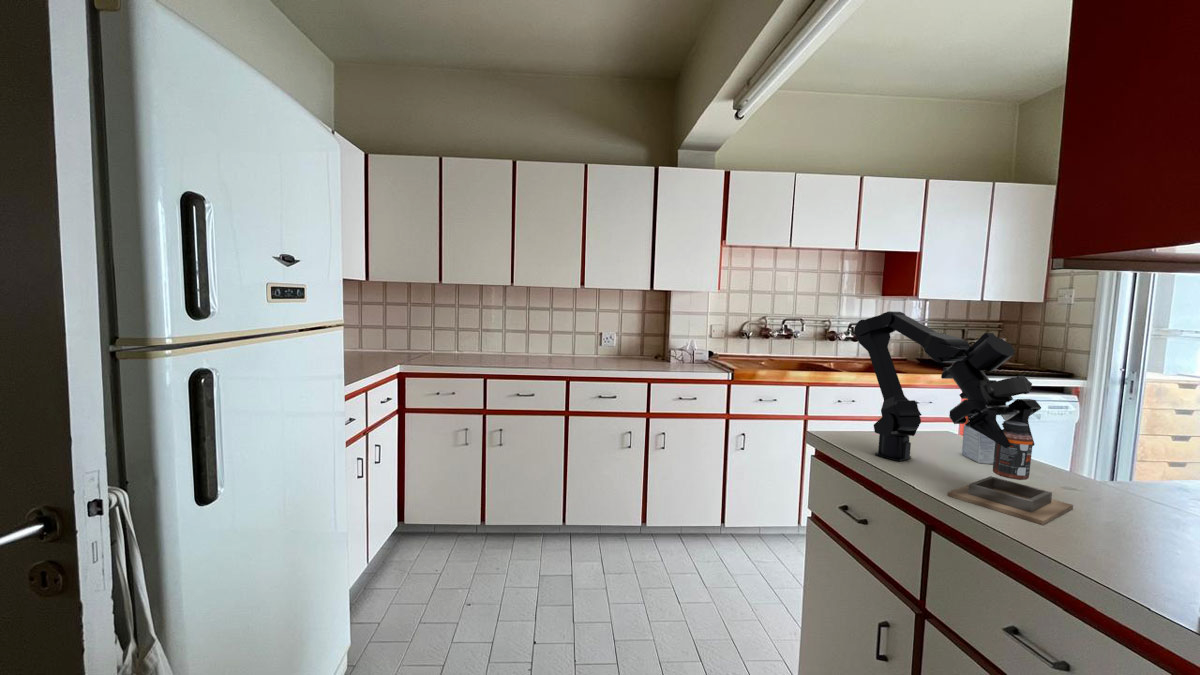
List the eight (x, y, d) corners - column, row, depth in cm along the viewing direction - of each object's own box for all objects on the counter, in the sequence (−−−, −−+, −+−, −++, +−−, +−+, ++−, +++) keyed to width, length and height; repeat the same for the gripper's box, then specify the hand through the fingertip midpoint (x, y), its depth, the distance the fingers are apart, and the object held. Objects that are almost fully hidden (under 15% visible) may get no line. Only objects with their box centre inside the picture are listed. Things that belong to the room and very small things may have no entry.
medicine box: (996, 464, 130) (999, 432, 130) (977, 463, 131) (980, 431, 131) (978, 455, 138) (981, 425, 138) (961, 454, 139) (963, 424, 138)
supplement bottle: (1032, 483, 100) (1038, 428, 99) (995, 477, 103) (1000, 423, 102) (1025, 474, 105) (1030, 422, 105) (989, 469, 108) (994, 417, 107)
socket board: (947, 495, 107) (948, 481, 107) (980, 483, 115) (981, 470, 115) (1042, 525, 93) (1044, 509, 93) (1072, 508, 102) (1074, 494, 102)
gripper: (966, 362, 104) (1016, 427, 94) (1036, 362, 108) (1090, 425, 99) (930, 392, 112) (972, 455, 103) (996, 391, 117) (1042, 452, 107)
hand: (1020, 446), depth 102 cm, fingers closed on supplement bottle, 6 cm apart
